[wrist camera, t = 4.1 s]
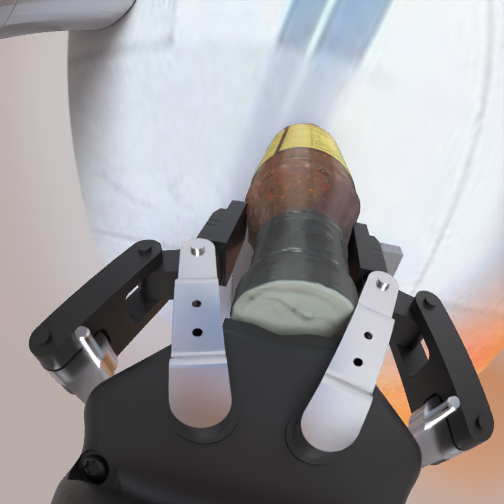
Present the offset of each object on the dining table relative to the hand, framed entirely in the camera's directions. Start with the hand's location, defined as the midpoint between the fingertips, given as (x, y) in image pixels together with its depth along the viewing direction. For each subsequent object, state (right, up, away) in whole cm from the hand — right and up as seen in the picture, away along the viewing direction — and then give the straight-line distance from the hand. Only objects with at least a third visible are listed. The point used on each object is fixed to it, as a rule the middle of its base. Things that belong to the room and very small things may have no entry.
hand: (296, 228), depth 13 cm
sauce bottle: (+3, +8, +11) cm, 14 cm away
